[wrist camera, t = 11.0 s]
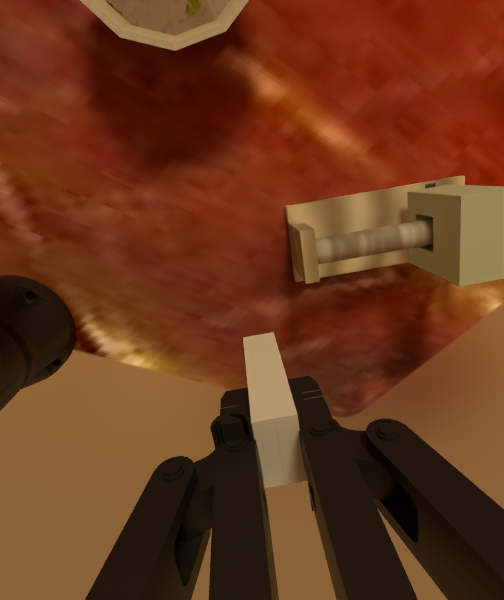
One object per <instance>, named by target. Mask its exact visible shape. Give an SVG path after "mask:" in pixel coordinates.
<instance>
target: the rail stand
mask: <svg viewBox="0 0 504 600" xmlns="http://www.w3.org/2000/svg"><path fill="white" fill-rule="evenodd" d="M443 185H465V176H456V177H450V178H445V179H439V180H433V181H428V182H422V183H416V184H410V185H405V186H399V187H393V188H387V189H382V190H376V191H370V192H365V193H359V194H353V195H347V196H342V197H336V198H330V199H324V200H319V201H313V202H307V203H301V204H296V205H290V206H285V210H286V218H287V225H288V233H289V240H290V248H291V256H292V263H293V271H294V278H295V281H296V282H299V281H304V282H305V283H306V284H308V283H314V282H320V278H322V277H328V276H334V275H339V274H345V273H351V272H356V271H362V270H368V269H373V268H379V267H385V266H390V265H396V264H402V263H407V262H409V249H410V248H415V247H421V246H427V245H432V244H433V218H430V219H425V220H419V221H413V222H408V200H407V192H409V191H414V190H420V189H426V188H431V187H437V186H443Z"/></svg>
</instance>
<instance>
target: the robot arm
mask: <svg viewBox="0 0 504 600" xmlns="http://www.w3.org/2000/svg"><path fill="white" fill-rule="evenodd" d="M75 339H76V330H75V324H74V320H73V318H72V315H71V313H70V311H69V309H68V308H67V306H66V305H65V303H64V302H63V301H62V300H61V299H60V297H59V296H58V295H57V294H55V293H54V292H53V291H52V290H50V289H49V288H48V287H46V286H44V285H43V284H41V283H39V282H37V281H34V280H32V279H29V278H25V277H21V276H13V275H3V276H0V410H1V409H2V408H3V407H4V406H5V405H6V404H7V403H8V402H9V401H10V400H11V399H12V398H13V397H14V396H15V395H16V394H17V392H18V391H19V390H20V389H23V388H25V387H27V386H30V385H32V384H35V383H37V382H40V381H42V380H44V379H46V378H48V377H50V376H51V375H53V374H54V373H55V372H56V371H57V370H58V369H59V368H60V367H61V366H62V365H63V364H64V363H65V362H66V361H67V359H68V358H69V356H70V355H71V353H72V351H73V348H74V345H75ZM243 341H244V351H245V362H246V372H247V383H248V388H242V389H237V390H231V391H226V392H225V394H224V395H223V397H222V398H221V409H220V416H218V417H217V418H216V419H215V420H214V421H213V422H212V425H211V427H210V428H211V432H212V436H213V440H214V444H215V450H214V451H213V452H212V453H211V454H210V455H209V456H207V457H205V458H203V459H201V460H199V461H197V462H194V463H193V461H192V460H191V459H189V458H188V457H184V456H178V457H172V458H170V459H168V460H166V461H164V462H163V463H161V464H160V465H159V466H158V467H157V468H156V470H155V471H154V472H153V474H152V476H151V478H150V480H149V482H148V483H147V485H146V487H145V489H144V491H143V493H142V495H141V497H140V498H139V500H138V502H137V504H136V506H135V508H134V510H133V512H132V513H131V515H130V517H129V519H128V521H127V523H126V524H125V526H124V529H123V530H122V532H121V534H120V536H119V538H118V539H117V541H116V543H115V545H114V547H113V549H112V551H111V552H110V554H109V556H108V558H107V560H106V562H105V564H104V565H103V567H102V569H101V571H100V573H99V575H98V577H97V578H96V580H95V582H94V584H93V586H92V588H91V590H90V592H89V593H88V595H87V597H86V599H85V600H191V598H192V594H193V591H194V588H195V584H196V581H197V578H198V574H199V571H200V567H201V564H202V561H203V557H204V554H205V550H206V547H207V544H208V540H209V537H210V531H211V528H212V540H211V562H210V586H209V587H210V588H209V600H279V597H278V589H277V581H276V573H275V564H274V556H273V548H272V540H271V532H270V524H269V516H268V507H267V500H266V495H265V490H264V488H268V487H274V486H279V485H285V484H291V483H296V482H302V481H307V480H308V486H309V493H310V499H311V507H312V511H314V512H315V516H316V520H317V525H318V528H319V532H320V536H321V540H322V544H323V548H324V552H325V556H326V560H327V564H328V567H329V572H330V576H331V580H332V584H333V587H334V591H335V595H336V599H337V600H418V599H417V597H416V594H415V592H414V590H413V588H412V585H411V583H410V581H409V579H408V576H407V574H406V572H405V570H404V568H403V565H402V563H401V561H400V559H399V556H398V554H397V552H396V550H395V547H394V545H393V543H392V541H391V538H390V536H389V534H388V532H387V529H386V527H385V525H384V523H383V521H382V518H381V516H380V514H379V512H378V509H379V511H380V512H381V513H382V515H383V516H384V517H385V519H386V520H387V521H388V523H389V524H390V525H391V526H392V528H393V529H394V530H395V532H396V533H397V534H398V536H399V537H400V538H401V539H402V541H403V542H404V543H405V545H406V546H407V547H408V549H409V550H410V551H411V552H412V554H413V555H414V556H415V558H416V559H417V560H418V562H419V563H420V564H421V565H422V567H423V568H424V569H425V571H426V572H427V573H428V575H429V576H430V577H431V578H432V580H433V581H434V582H435V584H436V585H437V586H438V587H439V589H440V590H441V591H442V593H443V594H444V595H445V597H446V598H447V599H448V600H504V509H503V508H501V507H500V506H499V505H498V504H497V503H496V502H494V501H493V500H492V499H491V498H490V497H489V496H487V495H486V494H485V493H484V492H483V491H482V490H480V489H479V488H478V487H477V486H476V485H475V484H473V483H472V482H471V481H470V480H469V479H468V478H466V477H465V476H464V475H463V474H462V473H461V472H459V471H458V470H457V469H456V468H455V467H454V466H453V465H451V464H450V463H449V462H448V461H447V460H445V459H444V458H443V457H442V456H441V455H440V454H439V453H437V452H436V451H435V450H434V449H433V448H431V447H430V446H429V445H428V444H427V443H426V442H424V441H423V440H422V439H421V438H420V437H419V436H418V435H416V434H415V433H414V432H413V431H412V430H411V429H409V428H408V427H407V426H406V425H404V424H403V423H401V422H399V421H396V420H393V419H379V420H375V421H373V422H371V423H370V424H369V425H368V426H367V428H366V431H356V430H349V429H346V428H343V427H341V426H340V425H339V424H338V422H337V421H336V420H334V419H333V418H332V416H331V413H330V411H329V409H328V407H327V404H326V402H325V400H324V397H323V395H322V393H321V390H320V388H319V386H318V384H317V381H315V380H314V379H313V378H311V377H310V376H305V377H299V378H294V379H288V380H287V377H286V374H285V370H284V367H283V363H282V360H281V356H280V353H279V350H278V346H277V343H276V339H275V336H274V333H273V332H272V333H267V334H261V335H255V336H250V337H244V338H243ZM377 508H378V509H377Z"/></svg>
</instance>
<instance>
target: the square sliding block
mask: <svg viewBox="0 0 504 600" xmlns="http://www.w3.org/2000/svg"><path fill="white" fill-rule="evenodd" d="M407 200H408V222H413V221H419V220H425V219H430V218H433V244H432V245H427V246H421V247H415V248H410V249H409V263H411V264H413V265H415V266H417V267H419V268H422V269H424V270H426V271H428V272H430V273H432V274H434V275H436V276H439V277H441V278H443V279H445V280H447V281H449V282H451V283H453V284H456V285H458V286H464V285H469V284H475V283H481V282H486V281H492V280H498V279H503V278H504V187H501V186H471V185H443V186H437V187H431V188H426V189H420V190H414V191H409V192H407Z"/></svg>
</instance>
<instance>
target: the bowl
mask: <svg viewBox="0 0 504 600" xmlns="http://www.w3.org/2000/svg"><path fill="white" fill-rule="evenodd" d="M80 1H81V2H82V3H84V4H85V5H86V6H87V7H88V8H89V9H90V10H91V11H92V12H93V13H94V14H95V15H96V16H97V17H99V18H100V19H101V20H102V21H103V22H104V23H105V24H106V25H107V26H108V27H109V28H110V29H111V30H112V31H113V32H115V33H116V34H117V35H118V36H119V37H120V38H124V39H128V40H133V41H137V42H141V43H145V44H149V45H153V46H157V47H161V48H166V49H170V50H174V51H176V50H179V49H181V48H184V47H186V46H189V45H192V44H194V43H197V42H199V41H202V40H205V39H207V38H210V37H212V36H215V35H218V34H220V33H223V32H225V31H227V29H228V28H229V27H230V25H231V24H232V22H233V21H234V20H235V18H236V17H237V16H238V14H239V13H240V12H241V10H242V9H243V7H244V6H245V5H246V3H247V2H248V1H249V0H80Z"/></svg>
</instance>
